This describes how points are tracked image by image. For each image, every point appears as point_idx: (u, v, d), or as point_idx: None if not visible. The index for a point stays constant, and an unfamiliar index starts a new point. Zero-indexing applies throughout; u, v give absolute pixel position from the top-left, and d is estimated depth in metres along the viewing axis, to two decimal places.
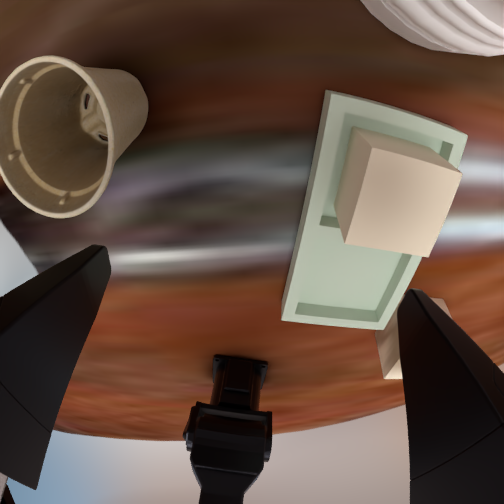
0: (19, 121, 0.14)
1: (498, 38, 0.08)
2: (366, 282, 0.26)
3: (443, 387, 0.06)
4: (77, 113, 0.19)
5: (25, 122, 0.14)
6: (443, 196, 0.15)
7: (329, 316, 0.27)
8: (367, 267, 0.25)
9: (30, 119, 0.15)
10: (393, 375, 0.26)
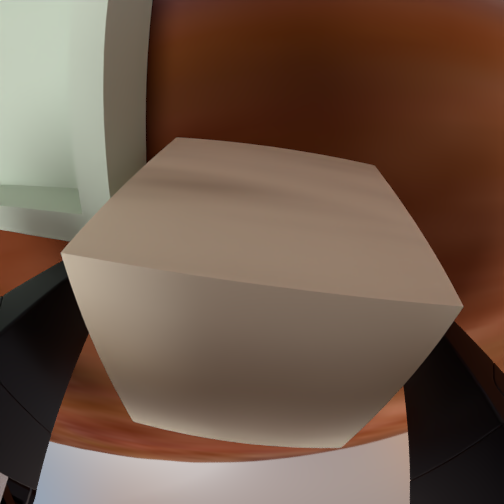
0: None
1: None
2: (44, 92, 0.07)
3: (443, 387, 0.06)
4: None
5: None
6: None
7: None
8: (34, 46, 0.06)
9: None
10: (155, 419, 0.07)
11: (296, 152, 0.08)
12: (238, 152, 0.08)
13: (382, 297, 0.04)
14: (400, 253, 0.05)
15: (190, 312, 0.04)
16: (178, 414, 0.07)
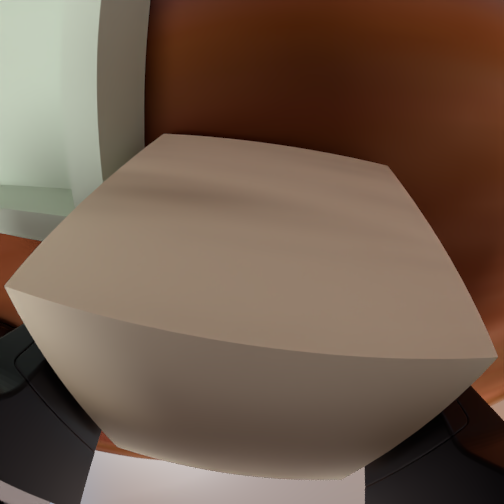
0: None
1: None
2: (38, 88, 0.06)
3: None
4: None
5: None
6: None
7: None
8: (27, 41, 0.05)
9: None
10: (138, 448, 0.06)
11: (298, 151, 0.07)
12: (230, 151, 0.07)
13: (402, 356, 0.03)
14: (424, 286, 0.04)
15: (153, 364, 0.03)
16: (161, 447, 0.05)
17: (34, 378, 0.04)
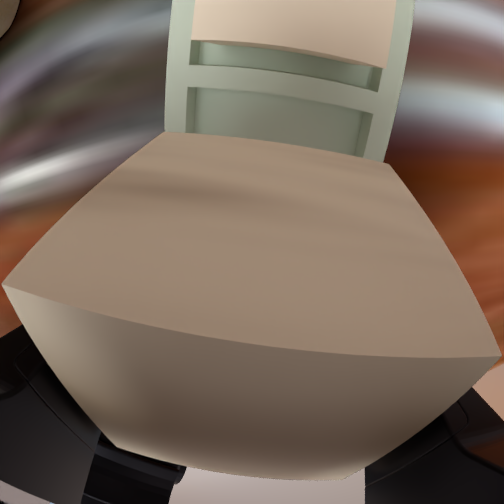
0: None
1: None
2: None
3: None
4: None
5: None
6: None
7: None
8: None
9: None
10: (138, 448, 0.06)
11: (299, 149, 0.07)
12: (230, 149, 0.07)
13: (407, 354, 0.03)
14: (428, 284, 0.04)
15: (153, 363, 0.03)
16: (161, 447, 0.05)
17: (34, 378, 0.04)
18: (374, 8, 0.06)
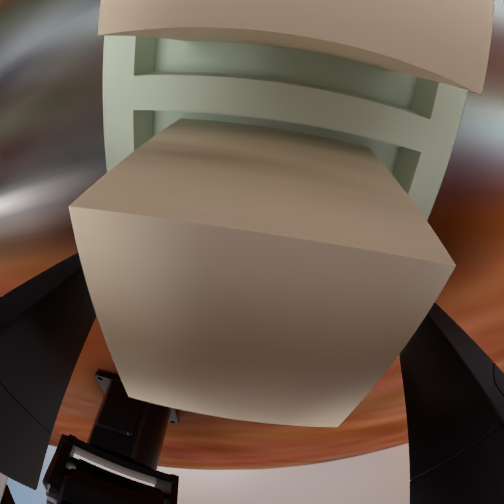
0: None
1: None
2: None
3: (443, 387, 0.06)
4: None
5: None
6: None
7: None
8: None
9: None
10: (150, 393, 0.07)
11: (294, 134, 0.09)
12: (239, 131, 0.08)
13: (376, 249, 0.04)
14: (393, 217, 0.05)
15: (190, 263, 0.04)
16: (174, 385, 0.07)
17: None
18: None
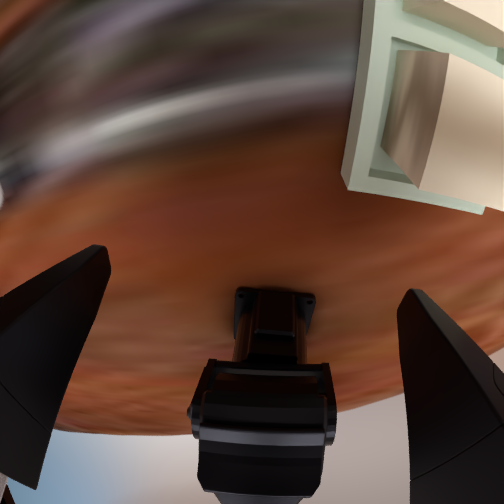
0: None
1: None
2: None
3: (443, 387, 0.06)
4: None
5: None
6: None
7: None
8: None
9: None
10: (437, 178, 0.11)
11: None
12: None
13: None
14: None
15: (484, 85, 0.08)
16: (455, 165, 0.10)
17: None
18: None
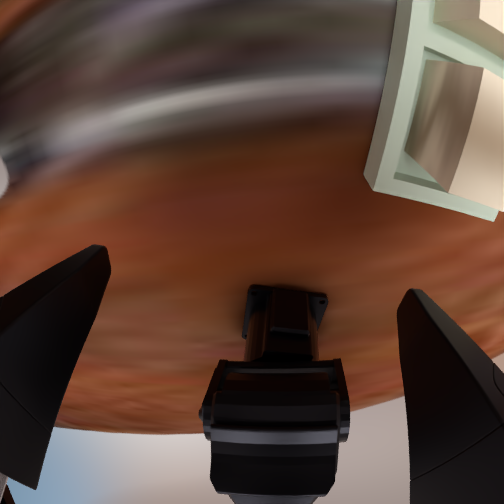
0: None
1: None
2: None
3: (443, 387, 0.06)
4: None
5: None
6: None
7: (436, 189, 0.16)
8: None
9: None
10: (465, 183, 0.11)
11: None
12: None
13: None
14: None
15: None
16: (482, 172, 0.10)
17: None
18: None
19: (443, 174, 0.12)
